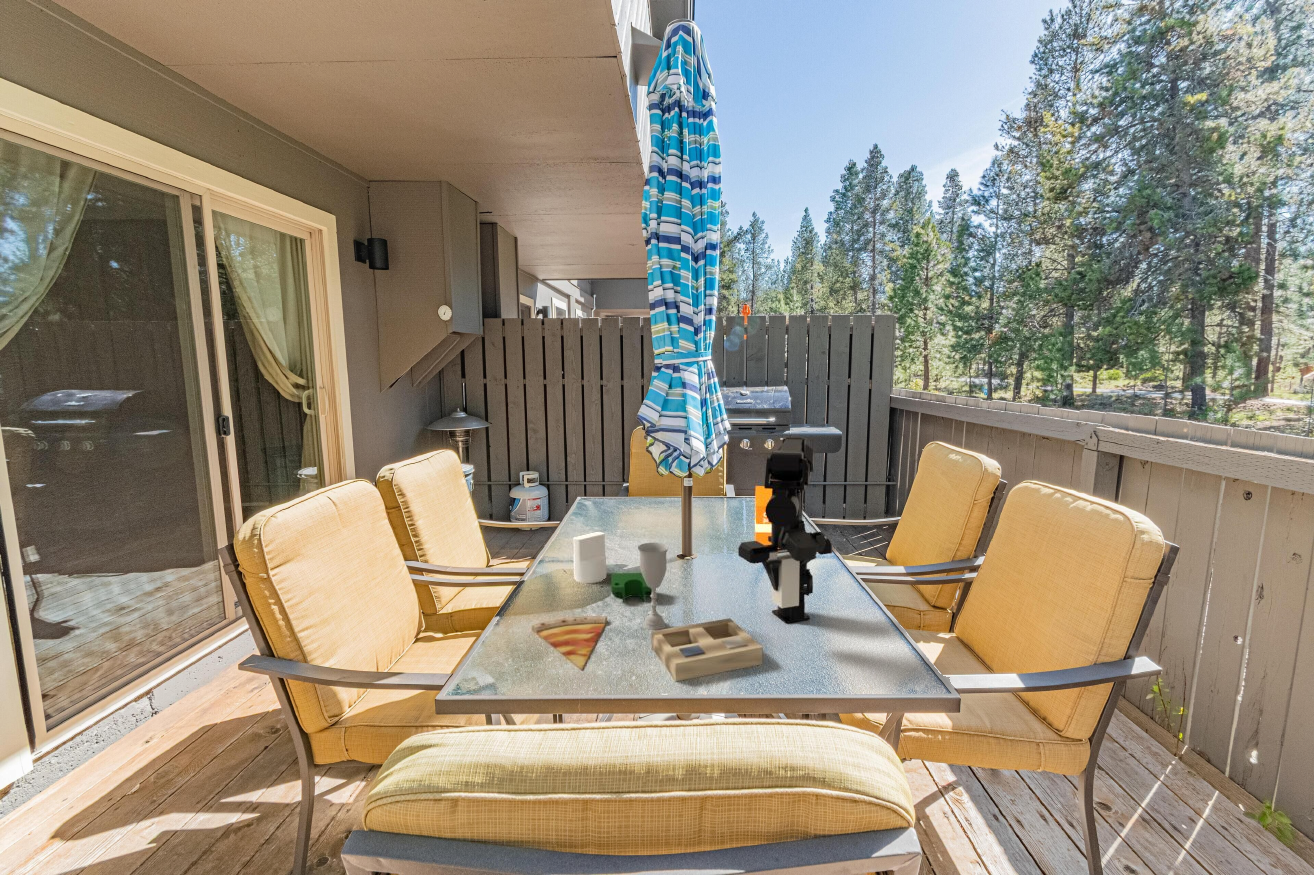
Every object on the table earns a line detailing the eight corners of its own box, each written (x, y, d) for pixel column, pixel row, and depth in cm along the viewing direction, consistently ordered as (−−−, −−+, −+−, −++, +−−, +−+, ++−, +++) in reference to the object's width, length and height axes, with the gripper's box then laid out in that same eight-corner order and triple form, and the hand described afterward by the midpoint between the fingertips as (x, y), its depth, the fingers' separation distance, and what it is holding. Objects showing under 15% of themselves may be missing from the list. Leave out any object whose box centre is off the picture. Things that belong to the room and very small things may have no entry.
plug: (771, 601, 119) (771, 554, 118) (788, 598, 120) (788, 551, 119) (781, 608, 115) (782, 559, 114) (798, 605, 116) (799, 557, 115)
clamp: (619, 617, 144) (604, 590, 141) (620, 602, 150) (605, 576, 147) (663, 600, 143) (649, 572, 140) (662, 586, 149) (648, 558, 145)
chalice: (634, 621, 132) (632, 544, 130) (661, 615, 134) (660, 541, 132) (646, 634, 125) (645, 554, 123) (674, 628, 128) (673, 549, 126)
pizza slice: (503, 668, 112) (503, 658, 112) (541, 619, 134) (541, 611, 134) (581, 673, 110) (581, 663, 110) (607, 623, 132) (607, 614, 132)
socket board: (651, 647, 119) (651, 630, 119) (730, 633, 125) (730, 616, 124) (675, 681, 106) (675, 662, 105) (762, 664, 112) (762, 645, 111)
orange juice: (754, 543, 190) (755, 483, 187) (782, 544, 188) (782, 484, 186) (755, 550, 182) (755, 488, 180) (783, 551, 181) (784, 489, 179)
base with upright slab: (586, 585, 154) (584, 542, 153) (567, 577, 161) (566, 535, 159) (612, 577, 160) (611, 535, 158) (594, 569, 167) (593, 529, 165)
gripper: (765, 528, 105) (764, 610, 107) (850, 519, 111) (848, 596, 113) (737, 514, 116) (737, 589, 117) (816, 506, 122) (815, 578, 123)
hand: (785, 588), depth 117 cm, fingers closed on plug, 4 cm apart
